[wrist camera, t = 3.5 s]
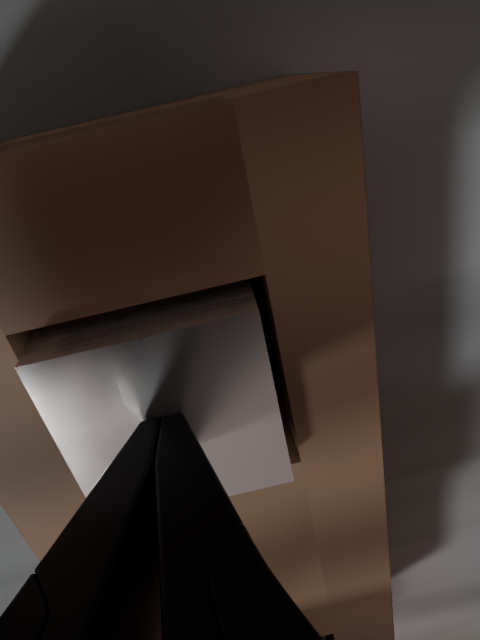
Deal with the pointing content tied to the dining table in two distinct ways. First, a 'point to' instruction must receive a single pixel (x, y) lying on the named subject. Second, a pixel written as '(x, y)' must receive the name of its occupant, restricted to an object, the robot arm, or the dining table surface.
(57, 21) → the dining table surface
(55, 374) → the peg
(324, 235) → the housing
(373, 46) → the dining table surface
